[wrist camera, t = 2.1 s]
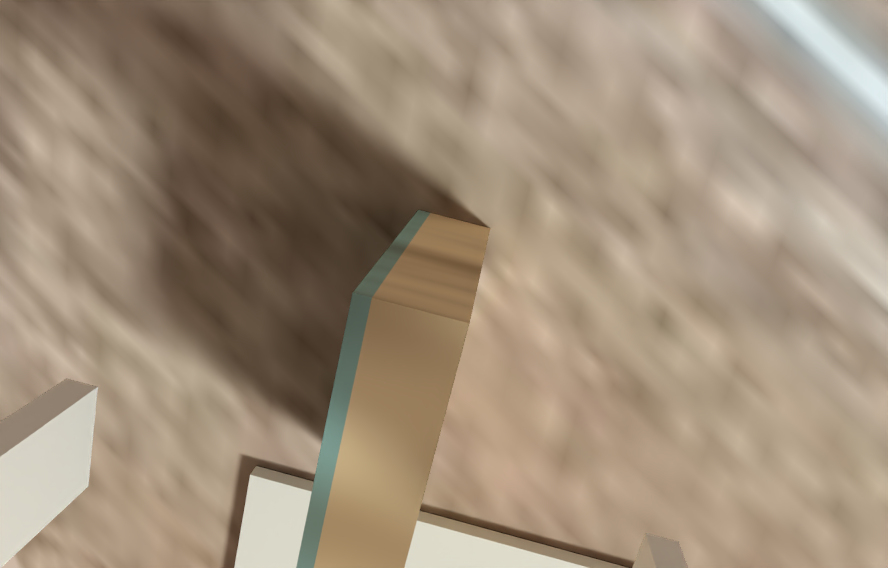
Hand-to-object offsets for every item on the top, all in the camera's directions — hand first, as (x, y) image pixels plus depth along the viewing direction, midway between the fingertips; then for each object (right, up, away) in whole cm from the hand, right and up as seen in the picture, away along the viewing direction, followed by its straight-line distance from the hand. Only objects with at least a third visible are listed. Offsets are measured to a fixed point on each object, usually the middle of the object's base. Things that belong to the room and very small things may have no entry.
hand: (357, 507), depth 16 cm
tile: (+1, +3, +8) cm, 8 cm away
